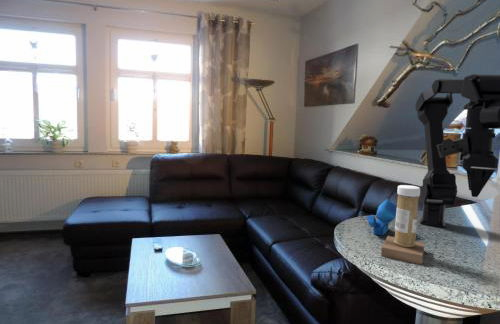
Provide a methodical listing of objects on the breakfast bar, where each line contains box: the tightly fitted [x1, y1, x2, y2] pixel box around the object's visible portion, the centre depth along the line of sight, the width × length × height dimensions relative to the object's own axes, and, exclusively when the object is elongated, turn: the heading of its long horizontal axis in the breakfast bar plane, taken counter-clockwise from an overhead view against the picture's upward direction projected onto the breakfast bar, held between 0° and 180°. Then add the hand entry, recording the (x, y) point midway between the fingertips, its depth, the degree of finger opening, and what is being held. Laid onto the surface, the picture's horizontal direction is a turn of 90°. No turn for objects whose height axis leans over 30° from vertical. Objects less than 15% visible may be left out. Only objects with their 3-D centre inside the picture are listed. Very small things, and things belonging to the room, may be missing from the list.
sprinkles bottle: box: [394, 184, 421, 247], centre depth 74 cm, size 5×5×13 cm
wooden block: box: [380, 235, 425, 265], centre depth 74 cm, size 9×8×2 cm
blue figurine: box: [365, 198, 397, 237], centre depth 89 cm, size 7×9×12 cm
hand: (472, 193), depth 79 cm, fingers open, 9 cm apart
